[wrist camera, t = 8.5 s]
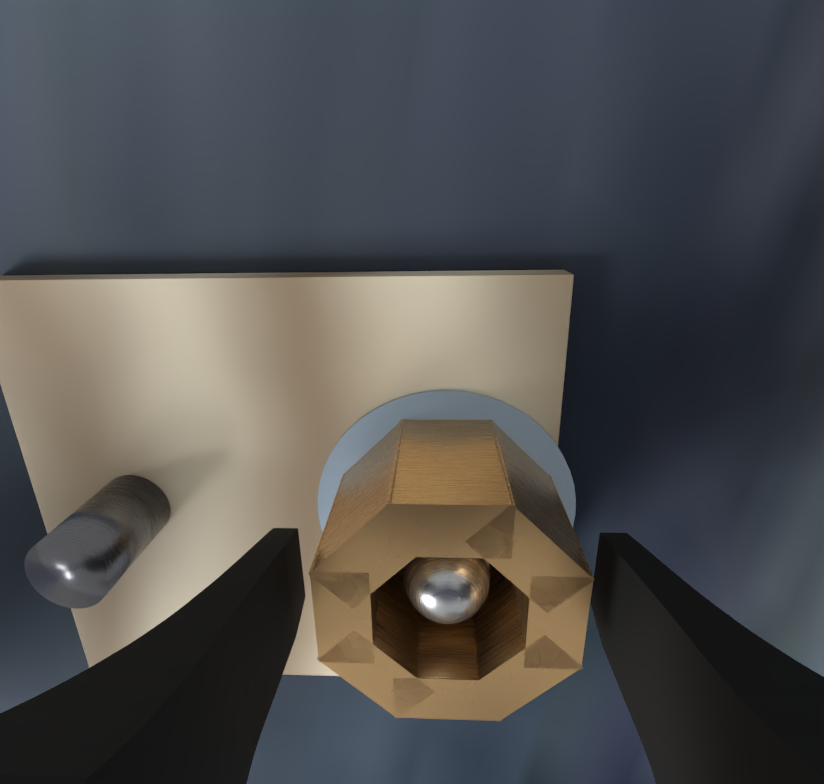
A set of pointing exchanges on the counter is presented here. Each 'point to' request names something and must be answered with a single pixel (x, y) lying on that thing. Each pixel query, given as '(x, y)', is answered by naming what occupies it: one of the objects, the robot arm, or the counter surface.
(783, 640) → the counter surface
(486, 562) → the steel hub
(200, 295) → the maple board
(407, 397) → the hub pad
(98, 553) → the stand rod
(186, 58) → the counter surface
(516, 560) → the bronze ring
